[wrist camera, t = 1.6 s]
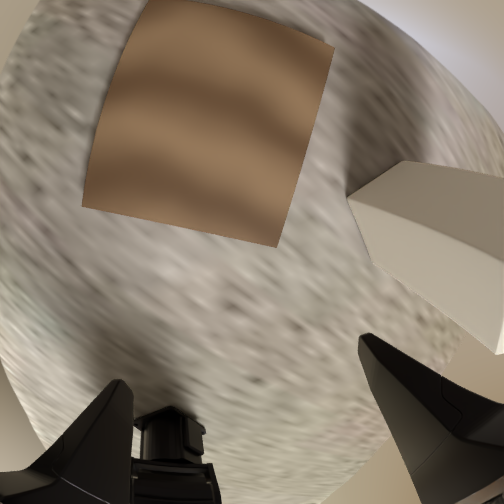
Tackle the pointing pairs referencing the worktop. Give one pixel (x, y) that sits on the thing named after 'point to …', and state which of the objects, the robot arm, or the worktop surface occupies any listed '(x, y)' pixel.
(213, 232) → the cutting board
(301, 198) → the worktop surface
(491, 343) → the milk carton
